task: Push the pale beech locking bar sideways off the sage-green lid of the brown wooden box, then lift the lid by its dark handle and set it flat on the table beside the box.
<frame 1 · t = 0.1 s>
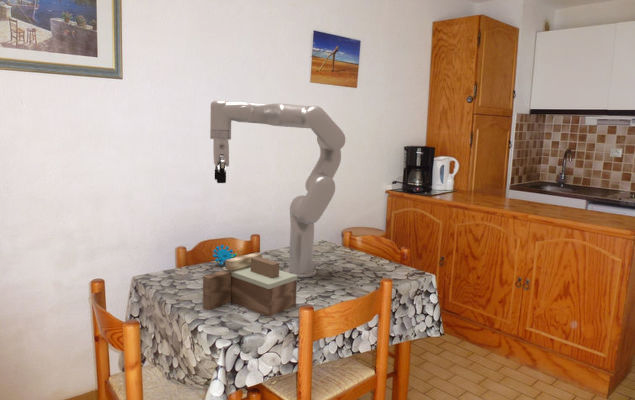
hand: (220, 181, 177), 37 cm above the table, tool pointing down, fingers open, 9 cm apart
lid: (259, 276, 157), point 9 cm above the table, touching brown wooden box
brown wooden box: (258, 302, 159), on the table
blue spiky virus toy: (225, 264, 200), on the table
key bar: (244, 261, 162), point 12 cm above the table, slide at 0.0 cm
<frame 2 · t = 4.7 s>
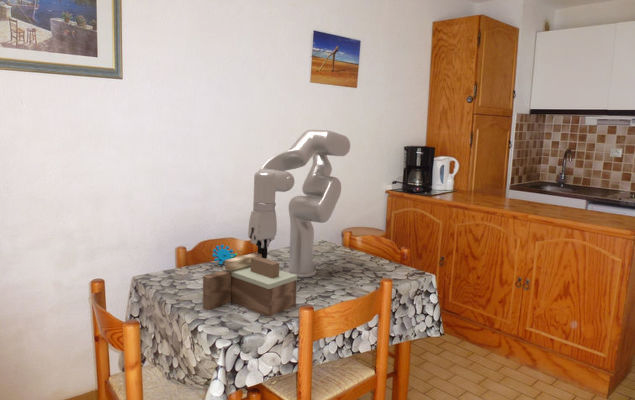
hand: (262, 257, 168), 12 cm above the table, tool pointing down, fingers closed
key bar: (243, 261, 161), point 12 cm above the table, slide at 0.2 cm, touching gripper
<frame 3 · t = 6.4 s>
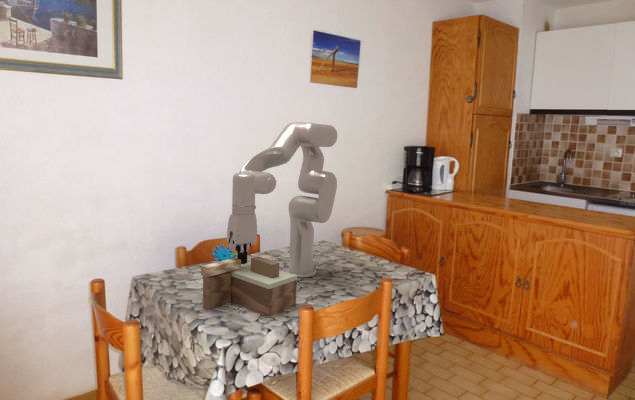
hand: (242, 263, 161), 12 cm above the table, tool pointing down, fingers closed
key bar: (221, 267, 154), point 13 cm above the table, slide at 9.8 cm, touching gripper
everything else where it was.
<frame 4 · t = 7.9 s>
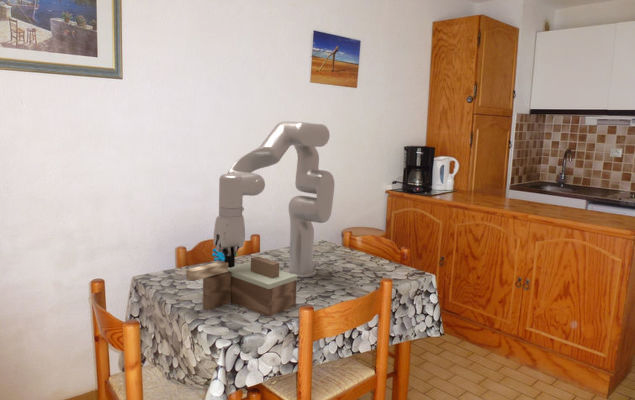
hand: (229, 266, 157), 12 cm above the table, tool pointing down, fingers closed
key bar: (207, 270, 150), point 13 cm above the table, slide at 15.3 cm, touching gripper
everything else where it was.
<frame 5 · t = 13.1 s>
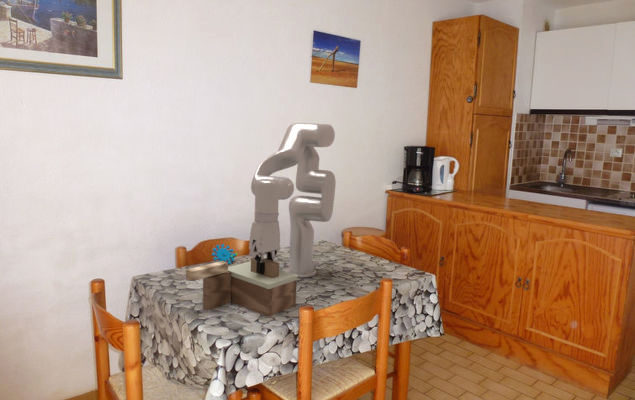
hand: (264, 271, 156), 11 cm above the table, tool pointing down, fingers closed on lid, 3 cm apart
lid: (259, 276, 157), point 9 cm above the table, touching gripper, brown wooden box
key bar: (207, 270, 150), point 13 cm above the table, slide at 15.4 cm
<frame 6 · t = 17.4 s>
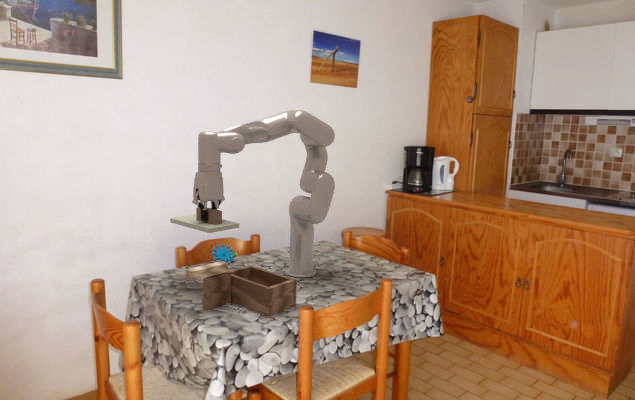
hand: (208, 219, 165), 25 cm above the table, tool pointing down, fingers closed on lid, 3 cm apart
lid: (204, 224, 167), point 23 cm above the table, touching gripper
when the fingers open (4 cm above the table, at t = 21.8 s): lid drops 2 cm, on the table.
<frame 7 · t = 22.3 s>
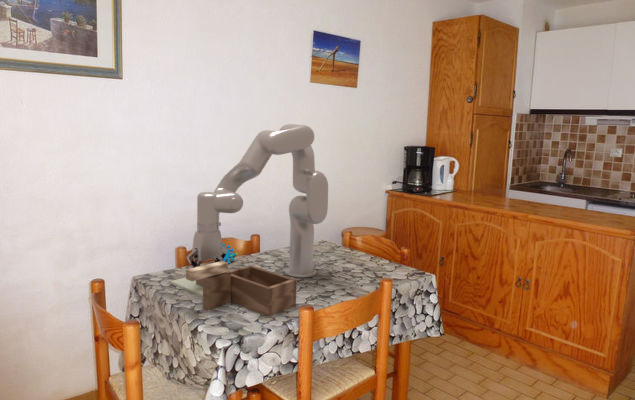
hand: (207, 274, 169), 5 cm above the table, tool pointing down, fingers open, 8 cm apart
lid: (203, 288, 171), on the table
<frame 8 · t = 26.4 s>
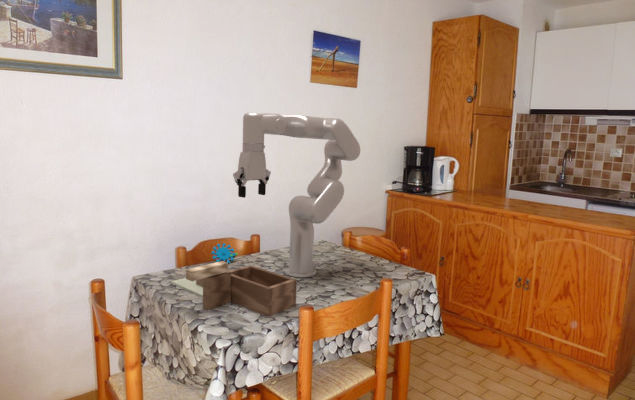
hand: (252, 195, 171), 33 cm above the table, tool pointing down, fingers open, 9 cm apart
at the end: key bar slide at 15.4 cm; lid inside the target area (0.5 cm from its centre), on the table; lid tilted 0° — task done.
